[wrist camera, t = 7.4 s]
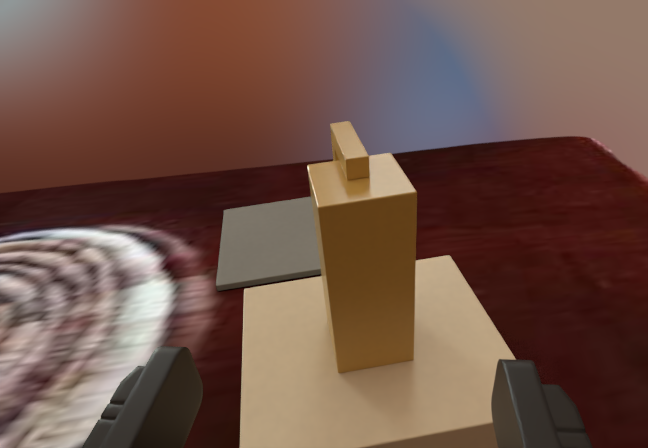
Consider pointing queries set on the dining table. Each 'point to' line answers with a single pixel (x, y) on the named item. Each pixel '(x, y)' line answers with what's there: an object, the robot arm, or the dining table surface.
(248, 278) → the left mat
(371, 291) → the golden block with ridge
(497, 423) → the robot arm
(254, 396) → the beige rectangular block
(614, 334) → the dining table surface
